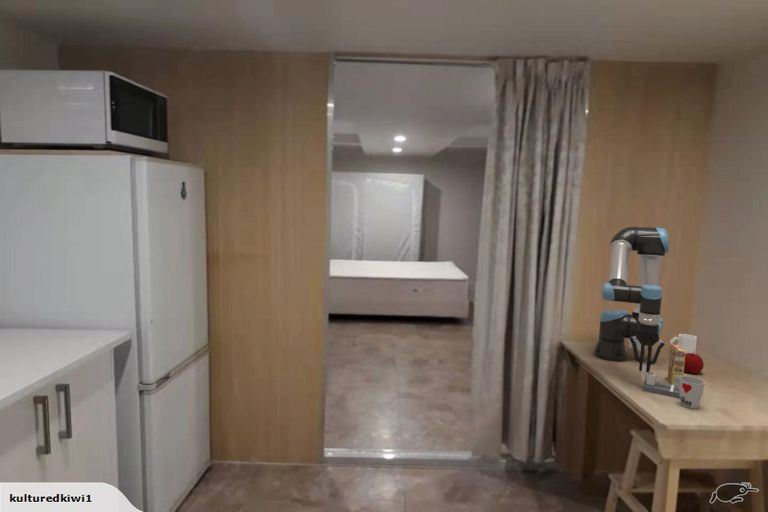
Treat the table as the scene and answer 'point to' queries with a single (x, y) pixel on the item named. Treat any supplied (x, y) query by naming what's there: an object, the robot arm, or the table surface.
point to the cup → (690, 391)
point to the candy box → (676, 364)
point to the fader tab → (651, 378)
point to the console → (662, 389)
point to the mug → (686, 342)
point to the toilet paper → (636, 344)
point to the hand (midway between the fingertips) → (643, 378)
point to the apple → (693, 363)
